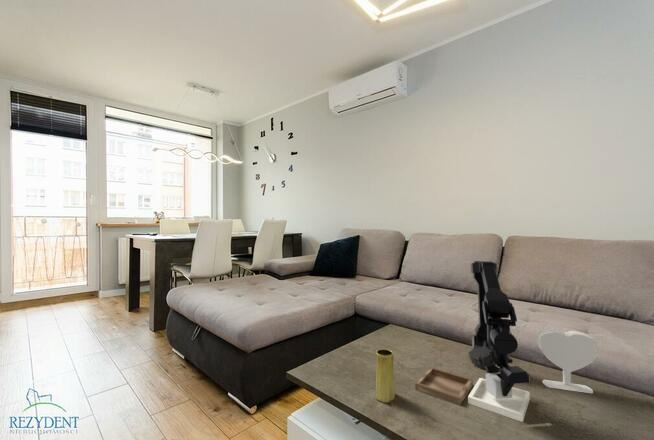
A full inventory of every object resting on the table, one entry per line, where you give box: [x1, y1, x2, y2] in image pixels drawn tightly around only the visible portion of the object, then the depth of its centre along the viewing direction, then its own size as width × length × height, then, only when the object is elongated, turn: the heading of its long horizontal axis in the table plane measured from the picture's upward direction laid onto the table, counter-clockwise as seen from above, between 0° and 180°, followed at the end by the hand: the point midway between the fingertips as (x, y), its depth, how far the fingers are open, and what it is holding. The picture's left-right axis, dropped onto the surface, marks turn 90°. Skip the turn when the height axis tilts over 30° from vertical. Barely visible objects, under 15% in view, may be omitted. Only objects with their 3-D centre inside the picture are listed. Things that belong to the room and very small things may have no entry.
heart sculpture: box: [536, 328, 599, 394], centre depth 101 cm, size 16×5×18 cm, turn 69°
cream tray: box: [467, 377, 531, 423], centre depth 93 cm, size 14×14×2 cm
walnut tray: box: [414, 366, 474, 406], centre depth 101 cm, size 14×14×2 cm
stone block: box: [485, 371, 512, 399], centre depth 93 cm, size 5×5×5 cm
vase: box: [375, 348, 396, 404], centre depth 97 cm, size 6×6×14 cm
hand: (498, 391), depth 93 cm, fingers closed on stone block, 5 cm apart
